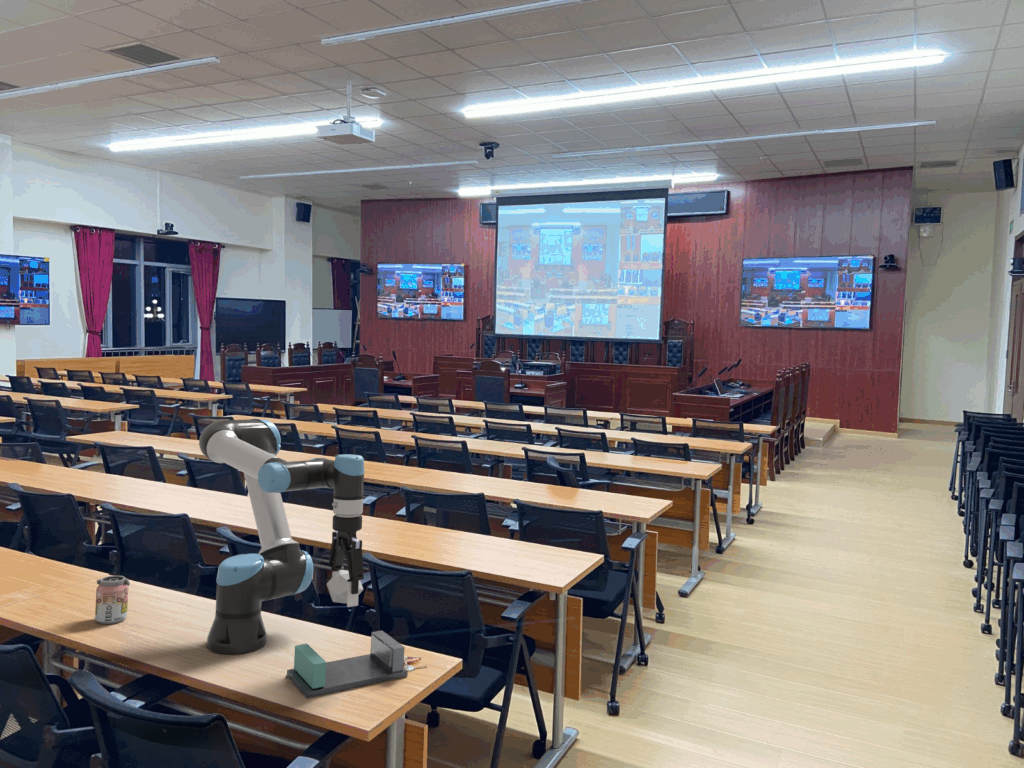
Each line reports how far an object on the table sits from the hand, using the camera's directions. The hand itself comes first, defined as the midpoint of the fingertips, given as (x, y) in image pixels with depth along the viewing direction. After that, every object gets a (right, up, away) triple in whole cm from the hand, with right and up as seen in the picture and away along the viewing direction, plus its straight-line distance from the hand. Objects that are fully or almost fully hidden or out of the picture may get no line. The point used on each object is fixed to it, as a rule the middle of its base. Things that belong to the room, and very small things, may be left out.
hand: (344, 600), depth 192 cm
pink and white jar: (-72, -12, +21) cm, 76 cm away
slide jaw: (-5, -14, -14) cm, 21 cm away
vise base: (+3, -17, -8) cm, 19 cm away
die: (0, 0, 0) cm, 0 cm away
